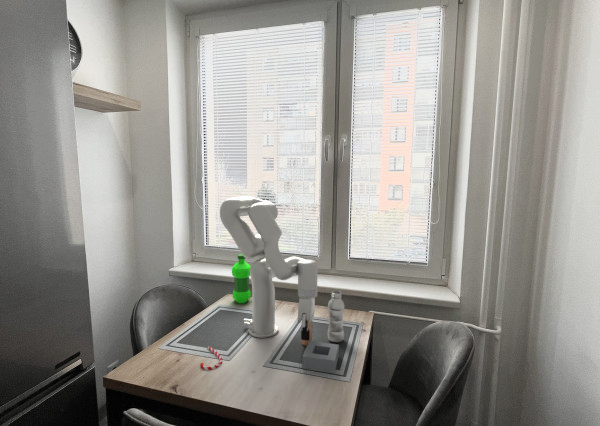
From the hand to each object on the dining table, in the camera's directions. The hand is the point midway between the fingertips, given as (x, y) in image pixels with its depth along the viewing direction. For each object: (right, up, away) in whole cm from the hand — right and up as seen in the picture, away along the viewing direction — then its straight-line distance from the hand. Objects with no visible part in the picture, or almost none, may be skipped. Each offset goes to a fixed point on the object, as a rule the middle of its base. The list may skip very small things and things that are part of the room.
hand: (306, 336), depth 128 cm
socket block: (+5, -4, -13) cm, 15 cm away
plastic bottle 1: (-33, +2, +43) cm, 55 cm away
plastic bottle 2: (+12, -3, +3) cm, 12 cm away
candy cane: (-35, -4, -12) cm, 37 cm away
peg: (0, -3, 0) cm, 3 cm away
